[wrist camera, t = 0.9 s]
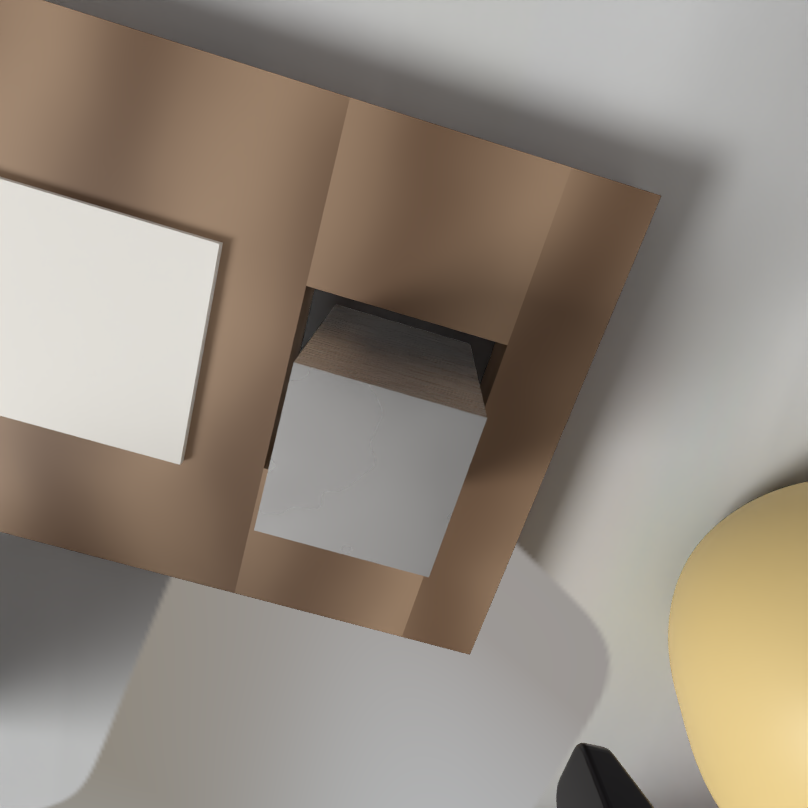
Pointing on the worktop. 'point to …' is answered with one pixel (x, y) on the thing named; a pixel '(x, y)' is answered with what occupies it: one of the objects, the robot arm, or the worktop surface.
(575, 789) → the robot arm
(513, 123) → the worktop surface
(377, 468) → the grey rectangular block
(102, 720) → the worktop surface
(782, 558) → the yellow melon
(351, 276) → the hole plate
